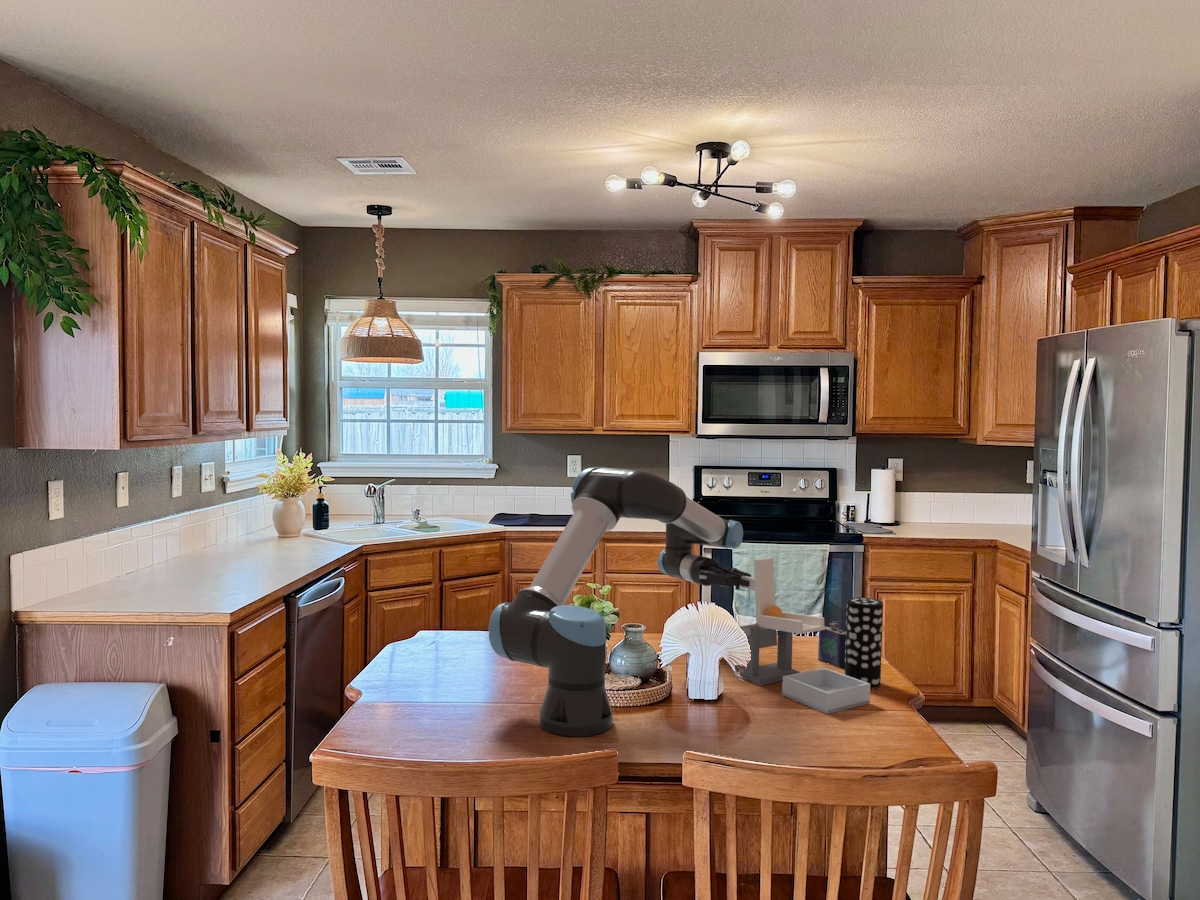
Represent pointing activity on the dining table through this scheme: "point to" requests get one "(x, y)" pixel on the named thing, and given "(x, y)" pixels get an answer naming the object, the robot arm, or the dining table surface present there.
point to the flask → (832, 646)
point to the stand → (771, 670)
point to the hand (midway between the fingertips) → (760, 585)
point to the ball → (774, 611)
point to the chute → (767, 599)
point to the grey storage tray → (826, 690)
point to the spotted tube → (864, 640)
